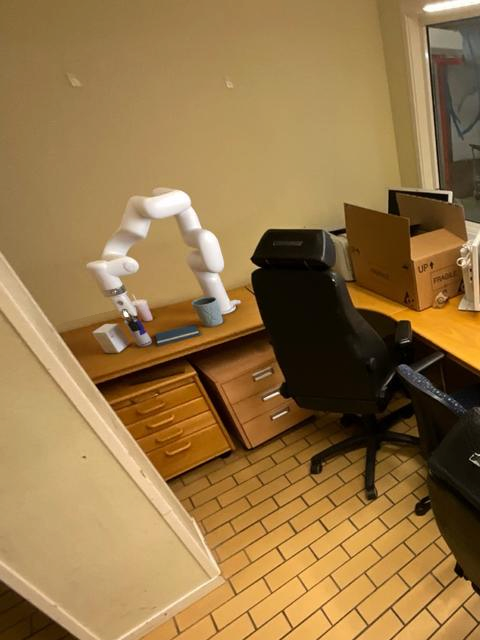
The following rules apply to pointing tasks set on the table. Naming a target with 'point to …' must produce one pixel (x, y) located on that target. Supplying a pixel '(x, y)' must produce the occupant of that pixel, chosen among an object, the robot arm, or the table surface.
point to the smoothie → (142, 309)
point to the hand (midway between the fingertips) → (136, 326)
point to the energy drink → (139, 334)
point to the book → (176, 334)
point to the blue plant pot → (208, 311)
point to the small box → (111, 338)
